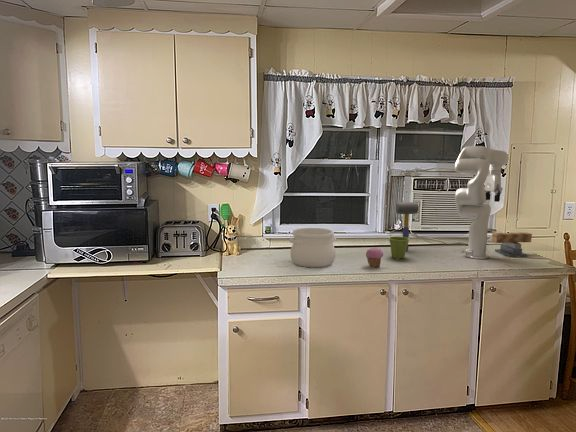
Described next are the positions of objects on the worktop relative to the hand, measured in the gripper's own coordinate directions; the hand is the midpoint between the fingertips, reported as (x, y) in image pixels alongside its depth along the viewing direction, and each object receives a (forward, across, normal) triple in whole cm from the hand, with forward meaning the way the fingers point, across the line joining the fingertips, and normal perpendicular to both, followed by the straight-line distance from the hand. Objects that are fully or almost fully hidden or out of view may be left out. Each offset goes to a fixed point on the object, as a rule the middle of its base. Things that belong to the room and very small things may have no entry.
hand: (492, 200), depth 262 cm
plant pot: (+31, +17, -66) cm, 75 cm away
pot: (+31, +24, -117) cm, 123 cm away
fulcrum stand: (+30, +16, +4) cm, 34 cm away
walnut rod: (+23, +16, +4) cm, 28 cm away
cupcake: (+31, +34, -86) cm, 97 cm away
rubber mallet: (+31, 0, -55) cm, 63 cm away
